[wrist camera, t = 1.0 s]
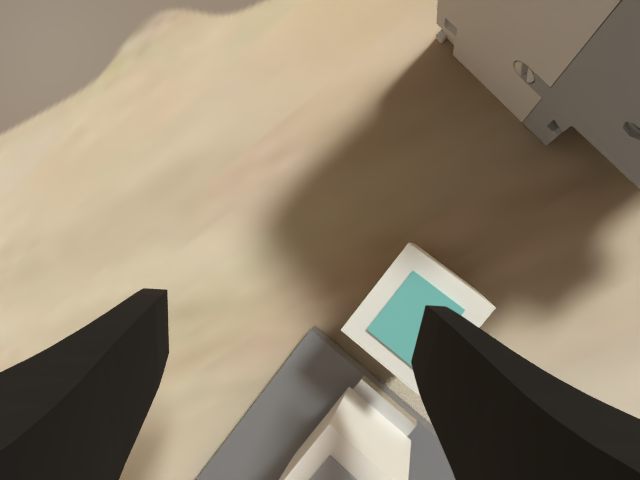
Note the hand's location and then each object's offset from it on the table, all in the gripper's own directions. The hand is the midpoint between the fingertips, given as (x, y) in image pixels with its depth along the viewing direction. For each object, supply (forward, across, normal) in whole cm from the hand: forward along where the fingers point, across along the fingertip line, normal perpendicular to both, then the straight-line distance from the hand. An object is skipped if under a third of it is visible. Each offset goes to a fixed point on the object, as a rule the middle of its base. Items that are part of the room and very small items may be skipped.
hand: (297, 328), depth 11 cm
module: (+9, -7, +4) cm, 12 cm away
